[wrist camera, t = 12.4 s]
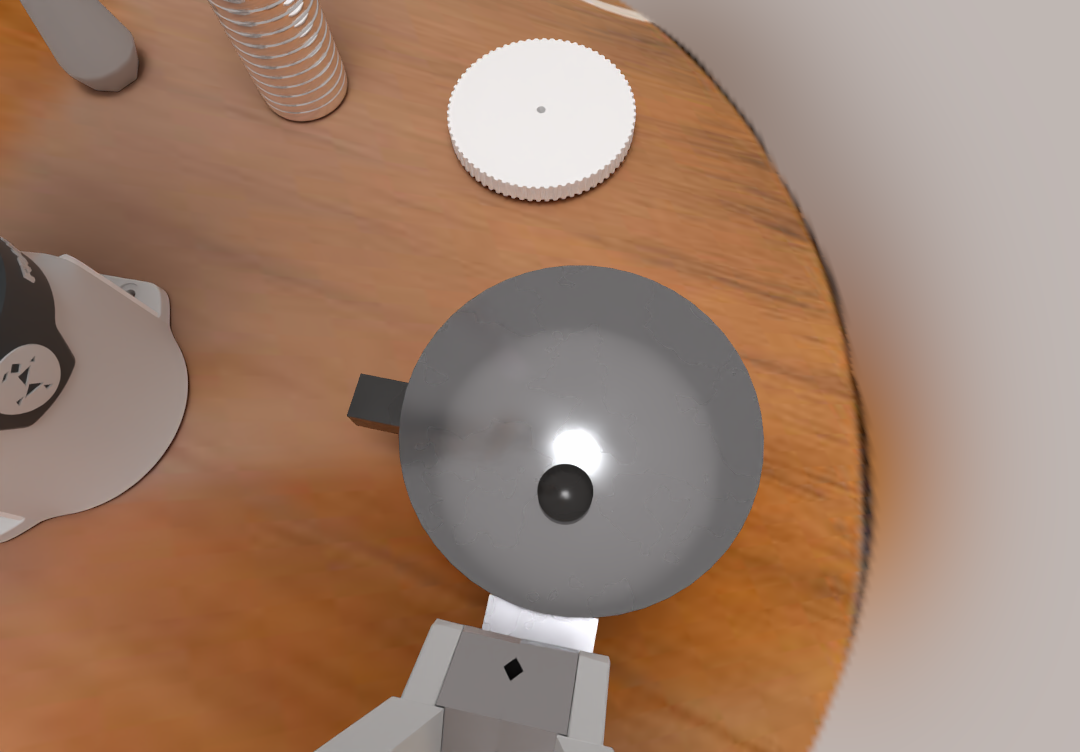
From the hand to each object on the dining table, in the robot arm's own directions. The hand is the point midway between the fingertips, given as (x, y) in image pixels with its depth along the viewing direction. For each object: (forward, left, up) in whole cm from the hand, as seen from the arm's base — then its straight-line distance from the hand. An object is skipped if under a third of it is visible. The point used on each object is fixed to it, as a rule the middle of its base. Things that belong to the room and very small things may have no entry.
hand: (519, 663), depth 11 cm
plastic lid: (-14, +33, -29) cm, 46 cm away
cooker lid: (-2, +9, -19) cm, 21 cm away
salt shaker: (-49, +26, -29) cm, 62 cm away
